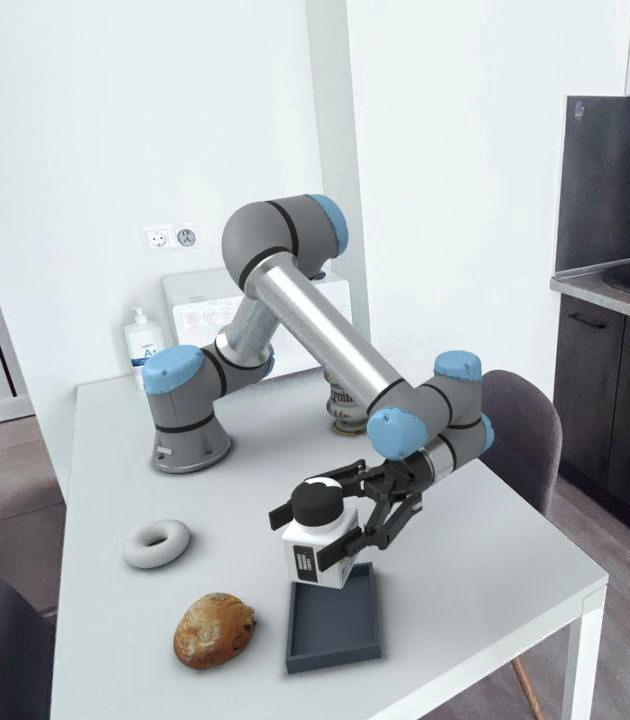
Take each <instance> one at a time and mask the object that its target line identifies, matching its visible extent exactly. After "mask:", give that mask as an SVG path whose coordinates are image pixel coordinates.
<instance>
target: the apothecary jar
mask: <svg viewBox="0 0 630 720" xmlns="http://www.w3.org/2000/svg"><path fill="white" fill-rule="evenodd" d="M323 369H324V368H323ZM323 378H324V380H325V381H326V383H328V384H329V388H330V396H329V397H328V399H327V401H326V404H325V405H326V411H327V413H328V414H329V416H331V417H333V418H334V419H336V420H335V421H334V422H333V424H332V428H333V430H334V431H335V432H336V433H338V434H340V435H343V436H357V435H360V434H367V424H368V421H369V419H370V418H369V416H368V415H367V414H366V413H365V412H364V411H363V410H362V409H361V407H360V406H359V405H358V404H357V403H356V402H355V401H354V400H353V399H352V398H351V397H350V396H349V395H348V394H347V393H346V392H345V390H344V389H343V388H342V387H341V386H340V385H339V384H338V383H337V382H336V381H335V380H334V379H333V378H332V377H331V376H330V374H329V373H328V372H327V371H326V370H325V369H324V370H323Z"/></svg>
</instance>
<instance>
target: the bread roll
mask: <svg viewBox="0 0 630 720" xmlns="http://www.w3.org/2000/svg"><path fill="white" fill-rule="evenodd" d="M255 612H256V611H255V608H253V607H252V606H248V605H247V604H245V602H244V601H242V599H241V598H240V597H236V596H235V595H233V594H229V593H226V592H220V591H219V592H218V591H216V592H211V593H207V594H204V595H203V596H201V597H200V598H198V599H197V600H196V601H194V602H193V603H192V604H191V605H190V606H189V607H188V609H187V610H186V611H185V613H184V614H183V617H182V619H180V620H179V622H178V624H177V626H176V628H175V632H174V635H173V640H172V641H173V642H172V644H173V652H174V654H175V656H176V658H177V659H178V660H179V662H180V663H182V664H183V665H185V666H186V667H189V668H192V669H196V670H206V669H210V668H212V667H216V666H219V665H223V664H225V663H227V662H228V661H230V660H232V659H233V658H235V657H236V656H237V655H239V654H240V653H241V652H242V651H243V650H244V649H245V648H246V646H248V644H249V642H250V640H251V638H252V637H253V633H254V629H255V626H256V625H257V623H258V621H257V620H254V614H255Z"/></svg>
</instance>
